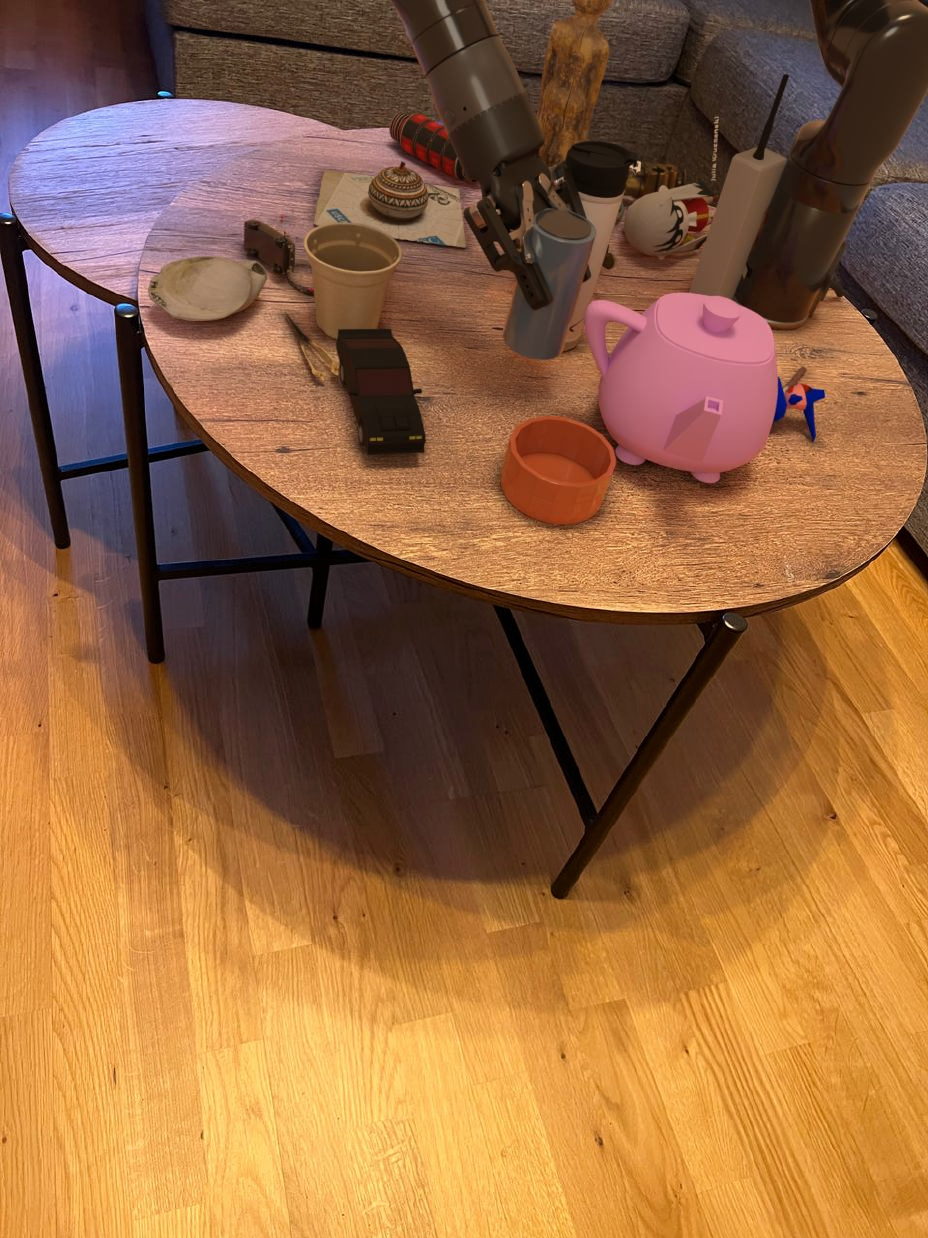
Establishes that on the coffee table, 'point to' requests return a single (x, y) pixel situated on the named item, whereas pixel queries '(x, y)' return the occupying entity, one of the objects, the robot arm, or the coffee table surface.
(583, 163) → the travel mug
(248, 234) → the toy car
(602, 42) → the sculpture
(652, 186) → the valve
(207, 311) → the seashell
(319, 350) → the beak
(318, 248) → the flower pot
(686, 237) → the toy
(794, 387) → the figurine
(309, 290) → the necklace
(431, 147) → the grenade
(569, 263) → the grey metal cylinder
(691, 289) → the vintage mobile phone
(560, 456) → the orange round bowl
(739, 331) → the teapot
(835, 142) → the robot arm
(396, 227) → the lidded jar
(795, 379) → the pen
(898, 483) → the coffee table surface
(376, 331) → the toy car
